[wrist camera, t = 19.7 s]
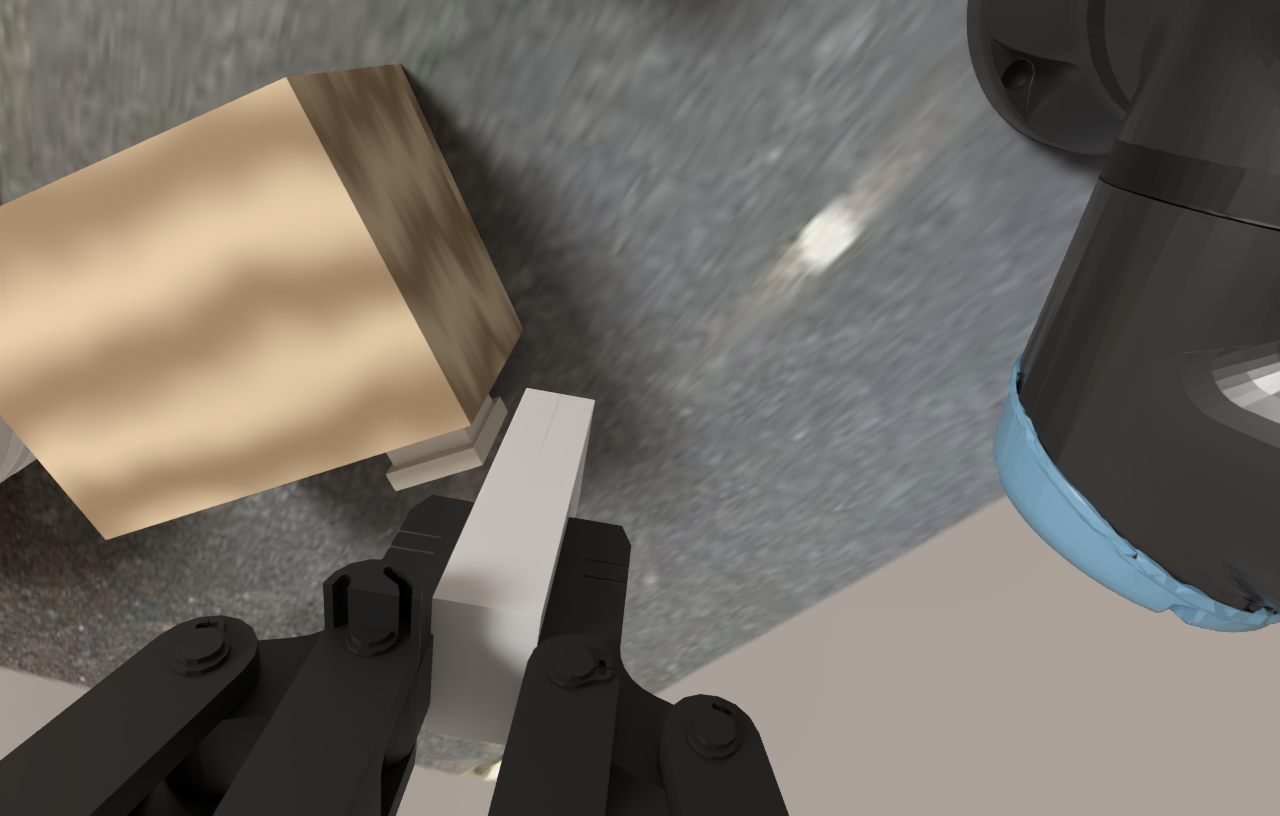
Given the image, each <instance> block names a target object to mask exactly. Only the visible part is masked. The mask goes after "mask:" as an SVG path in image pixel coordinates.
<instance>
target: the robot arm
mask: <svg viewBox="0 0 1280 816" xmlns="http://www.w3.org/2000/svg"><path fill="white" fill-rule="evenodd" d="M967 36H968V44H969V51H970V56H971V60H972V64H973V67H974V71H975V73H976V76H977V79H978V81H979V83H980V85H981V88H982V90H983V91H984V93H985V95H986V97H987V98H988V100H989V101H990V103H991V104H992V106H993V107H994V108H995V109H996V110H997V112H998V113H999V114H1000V115H1001V116H1002V117H1003V118H1004V119H1005V120H1006V121H1007V122H1008V123H1009V124H1011V125H1012V126H1013V127H1014V128H1016V129H1017V130H1019V131H1020V132H1022V133H1023V134H1025V135H1027V136H1029V137H1030V138H1032V139H1034V140H1037V141H1039V142H1041V143H1044V144H1047V145H1051V146H1054V147H1057V148H1060V149H1063V150H1067V151H1071V152H1075V153H1080V154H1087V155H1109V156H1108V159H1107V161H1106V163H1105V166H1104V168H1103V171H1102V173H1101V174H1100V176H1099V178H1098V181H1097V183H1096V186H1095V188H1094V190H1093V193H1092V195H1091V197H1090V200H1089V202H1088V204H1087V206H1086V209H1085V211H1084V213H1083V216H1082V218H1081V220H1080V223H1079V225H1078V227H1077V230H1076V232H1075V234H1074V237H1073V239H1072V241H1071V244H1070V246H1069V248H1068V251H1067V253H1066V255H1065V258H1064V260H1063V262H1062V264H1061V267H1060V269H1059V271H1058V274H1057V276H1056V278H1055V281H1054V283H1053V285H1052V288H1051V290H1050V292H1049V295H1048V297H1047V299H1046V302H1045V304H1044V306H1043V309H1042V311H1041V313H1040V315H1039V318H1038V320H1037V322H1036V325H1035V327H1034V329H1033V332H1032V334H1031V336H1030V339H1029V341H1028V343H1027V346H1026V348H1025V350H1024V352H1023V353H1022V354H1021V355H1020V356H1019V357H1018V358H1017V359H1016V361H1015V363H1014V366H1013V368H1012V371H1011V376H1010V392H1009V395H1008V398H1007V401H1006V403H1005V406H1004V409H1003V412H1002V414H1001V417H1000V420H999V423H998V426H997V428H996V432H995V435H994V443H993V457H994V460H995V463H996V465H997V467H998V470H999V476H1000V482H1001V484H1002V487H1003V489H1004V491H1005V492H1006V494H1007V496H1008V498H1009V499H1010V501H1011V502H1012V504H1013V505H1014V507H1015V508H1016V510H1017V511H1018V512H1019V514H1020V515H1021V516H1022V517H1023V519H1024V520H1025V521H1026V522H1027V523H1028V525H1029V526H1030V527H1031V528H1032V529H1033V530H1034V531H1035V532H1036V533H1037V534H1038V535H1039V536H1040V537H1041V538H1042V539H1043V540H1044V541H1045V542H1046V543H1047V544H1048V545H1049V546H1051V547H1052V548H1053V549H1054V550H1055V551H1056V552H1057V553H1059V554H1060V555H1061V556H1062V557H1063V558H1065V559H1066V560H1067V561H1068V562H1070V563H1071V564H1072V565H1074V566H1075V567H1076V568H1078V569H1079V570H1081V571H1082V572H1083V573H1085V574H1086V575H1088V576H1089V577H1090V578H1092V579H1094V580H1095V581H1097V582H1098V583H1100V584H1101V585H1103V586H1105V587H1106V588H1108V589H1110V590H1112V591H1113V592H1115V593H1117V594H1118V595H1120V596H1122V597H1124V598H1126V599H1128V600H1130V601H1132V602H1134V603H1136V604H1138V605H1140V606H1142V607H1144V608H1147V609H1149V610H1151V611H1153V612H1157V613H1159V612H1163V611H1165V610H1167V609H1170V610H1172V611H1173V612H1174V613H1175V614H1176V615H1177V616H1178V617H1179V618H1180V619H1181V620H1183V621H1184V622H1185V623H1186V624H1190V625H1193V626H1197V627H1200V628H1205V629H1210V630H1215V631H1222V632H1245V631H1254V630H1258V629H1261V628H1263V627H1266V626H1268V625H1270V624H1275V623H1278V622H1280V0H968V8H967ZM594 403H595V400H592V399H586V398H581V397H575V396H570V395H564V394H558V393H553V392H547V391H542V390H536V389H530V388H526V390H525V392H524V395H523V397H522V399H521V401H520V404H519V406H518V408H517V410H516V412H515V415H514V417H513V419H512V421H511V424H510V426H509V428H508V430H507V433H506V435H505V437H504V439H503V441H502V444H501V446H500V448H499V450H498V453H497V455H496V457H495V459H494V462H493V464H492V466H491V468H490V470H489V473H488V475H487V477H486V479H485V482H484V484H483V486H482V488H481V491H480V493H479V495H478V497H477V499H476V502H470V501H464V500H458V499H452V498H447V497H441V496H435V495H431V496H430V497H428V498H427V499H426V500H424V501H423V502H421V503H420V504H418V505H417V506H416V507H414V508H413V509H411V511H410V513H409V514H408V516H407V518H406V519H405V521H404V523H403V525H402V526H401V528H400V532H398V533H397V535H396V537H395V539H394V540H393V542H392V544H391V548H389V549H388V551H387V553H386V554H385V556H384V558H383V559H382V560H376V559H370V560H365V561H360V562H355V563H351V564H349V565H347V566H345V567H343V568H341V569H339V570H337V571H335V572H334V573H333V574H332V575H331V576H330V577H329V578H328V579H327V580H326V581H325V582H324V583H323V592H324V616H325V629H324V630H323V631H320V632H317V633H314V634H311V635H306V636H300V637H294V638H283V639H271V640H260V641H258V639H257V637H256V635H255V632H254V630H253V628H252V627H251V626H249V625H248V624H246V623H245V622H243V621H242V620H240V619H237V618H232V617H227V616H222V615H221V616H208V617H199V618H196V619H193V620H189V621H186V622H183V623H180V624H178V625H176V626H174V627H173V628H171V629H169V630H168V631H166V632H164V633H163V634H161V635H159V636H158V637H157V638H155V639H154V640H153V641H152V642H150V643H149V644H148V645H147V646H145V647H144V648H143V649H141V650H140V651H139V652H138V653H136V654H135V655H134V656H133V657H131V658H130V659H129V660H127V661H126V662H125V663H124V664H122V665H121V666H120V667H119V668H117V669H116V670H115V671H113V672H112V673H111V674H110V675H108V676H107V677H106V678H105V679H103V680H102V681H101V682H100V683H98V684H97V685H96V686H94V687H93V688H92V689H91V690H89V691H88V692H87V693H86V694H84V695H83V696H82V697H81V698H79V699H78V700H77V701H76V702H74V703H73V704H72V705H70V706H69V707H68V708H66V709H65V710H64V711H63V712H61V713H60V714H59V715H58V716H56V717H55V718H54V719H53V720H51V721H50V722H49V723H47V724H46V725H45V726H44V727H42V728H41V729H40V730H39V731H37V732H36V733H35V734H33V735H32V736H31V737H30V738H28V739H27V740H26V741H25V742H23V743H22V744H21V745H19V746H18V747H17V748H16V749H14V750H13V751H12V752H11V753H10V754H8V755H7V756H6V757H4V758H3V759H2V760H0V816H396V813H397V811H398V808H399V805H400V802H401V800H402V797H403V794H404V792H405V789H406V786H407V783H408V781H409V778H410V775H411V773H412V770H413V767H414V763H415V756H416V745H417V737H418V734H419V731H420V729H421V726H422V724H423V721H424V718H425V716H426V713H427V718H426V732H432V733H438V734H444V735H450V736H456V737H462V738H468V739H475V740H481V741H487V742H493V743H499V744H505V745H506V747H505V751H504V755H503V758H502V762H501V766H500V770H499V774H498V778H497V782H496V787H495V790H494V794H493V797H492V801H491V805H490V809H489V814H488V816H789V815H788V811H787V809H786V806H785V803H784V800H783V798H782V795H781V792H780V789H779V787H778V784H777V781H776V779H775V776H774V773H773V770H772V767H771V765H770V762H769V759H768V756H767V754H766V751H765V748H764V745H763V743H762V740H761V737H760V734H759V732H758V730H757V729H756V727H755V726H754V723H753V722H752V720H751V718H750V717H749V716H748V715H747V714H746V713H745V712H743V711H742V710H741V709H740V708H739V707H738V706H737V705H736V704H733V703H731V702H729V701H727V700H725V699H723V698H720V697H718V696H711V695H703V694H699V695H694V696H689V697H685V698H683V699H681V700H680V701H679V702H678V703H676V704H675V705H673V704H671V703H669V702H667V701H664V700H662V699H660V698H658V697H656V696H654V695H652V694H651V693H649V692H647V691H646V690H644V689H642V688H641V687H640V686H639V685H638V684H637V683H636V682H635V681H633V680H632V679H631V677H630V676H629V674H628V673H627V671H626V670H625V668H624V665H623V663H622V660H621V654H620V644H621V635H622V625H623V616H624V607H625V598H626V588H627V587H626V586H627V579H628V568H629V561H630V552H631V544H630V542H629V540H628V538H627V536H626V534H625V532H624V529H623V527H622V526H619V525H613V524H607V523H601V522H596V521H590V520H584V519H578V518H575V516H576V512H577V508H578V503H579V497H580V491H581V485H582V478H583V472H584V466H585V460H586V453H587V447H588V441H589V435H590V428H591V422H592V416H593V409H594Z"/></svg>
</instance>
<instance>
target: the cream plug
mask: <svg viewBox="0 0 1280 816" xmlns="http://www.w3.org/2000/svg"><path fill="white" fill-rule="evenodd" d="M507 413H508V411H507V409H506V407H505V405H504V403H503V401H502V399H501V397H500V396H498V397H495V398H491V397H490V395H489V394H488V396H487V397H486V399H485V401H484V403H483V405H482V407H481V408H480V410H479V412H478V414H477V416H476V418H475V419H474V421H473V423H472V425H471V426H468V427H465V428H462V429H459V430H455V431H452V432H449V433H446V434H443V435H439V436H436V437H433V438H430V439H427V440H424V441H420V442H417V443H414V444H411V445H408V446H404V447H401V448H398V449H395V450H392V451H388V452H386V453H387V455H388V457H389V458H390V460H391V462H392V463H393V464H392V465H391V467H390V468H389V470H388V471H387V473H386V474H385V475H386V476H387V478H388V480H389V481H390V483H391V484H392V486H393V488H394V489H395V491H398V490H402V489H405V488H408V487H412V486H415V485H418V484H422V483H425V482H428V481H432V480H435V479H438V478H442V477H445V476H448V475H452V474H455V473H459V472H462V471H465V470H469V469H472V468H475V467H479V466H482V465H483V464H484V462H485V460H486V458H487V455H488V453H489V451H490V449H491V447H492V445H493V443H494V441H495V438H496V436H497V434H498V432H499V430H500V428H501V426H502V423H503V421H504V419H505V417H506V415H507Z"/></svg>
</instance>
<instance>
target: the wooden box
mask: <svg viewBox="0 0 1280 816" xmlns="http://www.w3.org/2000/svg"><path fill="white" fill-rule="evenodd" d="M523 330H524V329H523V327H522V325H521V323H520V321H519V318H518V316H517V314H516V312H515V310H514V308H513V306H512V303H511V301H510V299H509V297H508V295H507V293H506V290H505V288H504V286H503V284H502V282H501V280H500V278H499V275H498V273H497V271H496V269H495V267H494V265H493V263H492V260H491V258H490V256H489V254H488V252H487V250H486V247H485V245H484V243H483V241H482V239H481V237H480V235H479V232H478V230H477V228H476V226H475V224H474V222H473V220H472V217H471V215H470V213H469V211H468V209H467V207H466V205H465V202H464V200H463V198H462V196H461V194H460V192H459V189H458V187H457V185H456V183H455V181H454V179H453V177H452V174H451V172H450V170H449V168H448V166H447V164H446V162H445V159H444V157H443V155H442V153H441V151H440V149H439V146H438V144H437V142H436V140H435V138H434V136H433V134H432V131H431V129H430V127H429V125H428V123H427V121H426V119H425V116H424V114H423V112H422V110H421V108H420V106H419V103H418V101H417V99H416V97H415V95H414V93H413V91H412V88H411V86H410V84H409V82H408V80H407V78H406V76H405V73H404V71H403V69H402V67H401V65H400V64H394V65H385V66H377V67H368V68H360V69H351V70H343V71H334V72H326V73H317V74H309V75H300V76H292V77H285V78H283V79H281V80H279V81H276V82H274V83H272V84H270V85H268V86H265V87H263V88H261V89H259V90H257V91H254V92H252V93H250V94H248V95H245V96H243V97H241V98H239V99H237V100H234V101H232V102H230V103H228V104H225V105H223V106H221V107H219V108H217V109H214V110H212V111H210V112H208V113H206V114H203V115H201V116H199V117H197V118H194V119H192V120H190V121H188V122H186V123H183V124H181V125H179V126H177V127H175V128H172V129H170V130H168V131H166V132H163V133H161V134H159V135H157V136H155V137H152V138H150V139H148V140H146V141H144V142H141V143H139V144H137V145H135V146H132V147H130V148H128V149H126V150H124V151H121V152H119V153H117V154H115V155H113V156H110V157H108V158H106V159H104V160H101V161H99V162H97V163H95V164H93V165H90V166H88V167H86V168H84V169H82V170H79V171H77V172H75V173H73V174H70V175H68V176H66V177H64V178H62V179H59V180H57V181H55V182H53V183H50V184H48V185H46V186H44V187H42V188H39V189H37V190H35V191H33V192H31V193H28V194H26V195H24V196H22V197H19V198H17V199H15V200H13V201H11V202H8V203H6V204H4V205H2V206H0V415H1V417H2V418H3V419H4V420H5V421H6V423H7V424H8V425H9V426H10V427H11V428H12V430H13V431H14V432H15V433H16V434H17V436H18V437H19V438H20V439H21V440H22V441H23V443H24V444H25V445H26V446H27V447H28V449H29V450H30V451H31V452H32V453H33V454H34V456H35V457H36V458H37V459H38V460H39V462H40V463H41V464H42V465H43V466H44V467H45V469H46V470H47V471H48V472H49V473H50V475H51V476H52V477H53V478H54V479H55V480H56V482H57V483H58V484H59V485H60V486H61V488H62V489H63V490H64V491H65V492H66V493H67V495H68V496H69V497H70V498H71V499H72V501H73V502H74V503H75V504H76V505H77V506H78V508H79V509H80V510H81V511H82V512H83V514H84V515H85V516H86V517H87V518H88V519H89V521H90V522H91V523H92V524H93V525H94V527H95V528H96V529H97V530H98V531H99V532H100V534H101V535H102V536H103V537H104V538H105V540H108V539H111V538H114V537H117V536H120V535H124V534H127V533H130V532H133V531H136V530H140V529H143V528H146V527H149V526H152V525H156V524H159V523H162V522H165V521H168V520H171V519H175V518H178V517H181V516H184V515H187V514H191V513H194V512H197V511H200V510H203V509H207V508H210V507H213V506H216V505H219V504H223V503H226V502H229V501H232V500H235V499H238V498H242V497H245V496H248V495H251V494H254V493H258V492H261V491H264V490H267V489H270V488H274V487H277V486H280V485H283V484H286V483H290V482H293V481H296V480H299V479H302V478H305V477H309V476H312V475H315V474H318V473H321V472H325V471H328V470H331V469H334V468H337V467H341V466H344V465H347V464H350V463H353V462H357V461H360V460H363V459H366V458H369V457H372V456H376V455H379V454H382V453H385V452H388V451H392V450H395V449H398V448H401V447H404V446H408V445H411V444H414V443H417V442H420V441H424V440H427V439H430V438H433V437H436V436H439V435H443V434H446V433H449V432H452V431H455V430H459V429H462V428H465V427H468V426H471V425H472V423H473V421H474V419H475V418H476V416H477V414H478V412H479V410H480V408H481V407H482V405H483V403H484V401H485V399H486V397H487V396H488V394H489V392H490V390H491V388H492V386H493V385H494V383H495V381H496V379H497V377H498V375H499V374H500V372H501V370H502V368H503V366H504V364H505V363H506V361H507V359H508V357H509V355H510V353H511V352H512V350H513V348H514V346H515V344H516V342H517V341H518V339H519V337H520V335H521V333H522V331H523Z"/></svg>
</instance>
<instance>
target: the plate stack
mask: <svg viewBox="0 0 1280 816" xmlns="http://www.w3.org/2000/svg"><path fill="white" fill-rule="evenodd" d="M36 459H37V458H36V457H35V456H34V454H33V453H32V452H31V451H30V450H29V449H28V447H27V446H26V445H25V444H24V443H23V441H22V440H21V439H20V438H19V437H18V436H17V434H16V433H15V432H14V431H13V430H12V428H11V427H10V426H9V425H8V424H7V423H6V421H5V420H4V419H3V418H2V417H1V415H0V483H1V482H3V481H4V480H6V479H7V478H8V477H10V476H11V475H13V474H15V473H17V472H18V471H20V470H21V469H23V468H24V467H26V466H27V465H29V464H30V463H32V462H33V461H34V460H36Z"/></svg>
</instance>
